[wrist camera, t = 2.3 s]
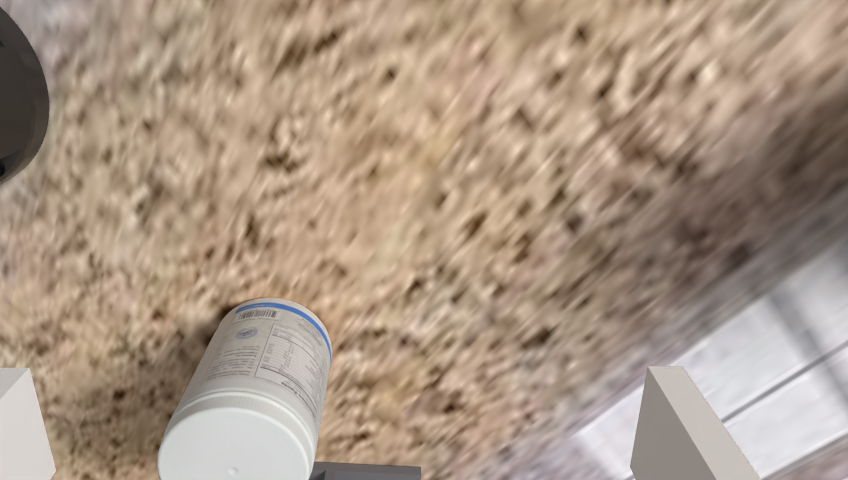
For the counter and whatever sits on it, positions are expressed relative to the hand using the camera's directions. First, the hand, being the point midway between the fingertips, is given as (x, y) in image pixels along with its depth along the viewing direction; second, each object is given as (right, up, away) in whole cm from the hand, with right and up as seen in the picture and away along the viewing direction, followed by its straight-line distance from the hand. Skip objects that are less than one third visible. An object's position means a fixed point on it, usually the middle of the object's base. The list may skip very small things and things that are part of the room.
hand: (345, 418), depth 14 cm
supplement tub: (-10, -4, +39) cm, 41 cm away
